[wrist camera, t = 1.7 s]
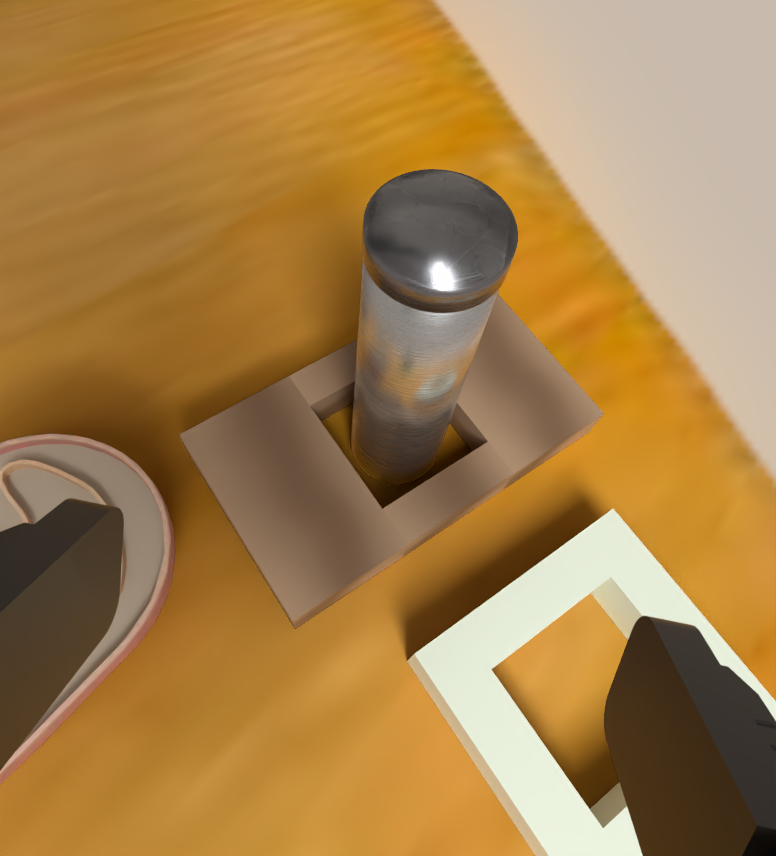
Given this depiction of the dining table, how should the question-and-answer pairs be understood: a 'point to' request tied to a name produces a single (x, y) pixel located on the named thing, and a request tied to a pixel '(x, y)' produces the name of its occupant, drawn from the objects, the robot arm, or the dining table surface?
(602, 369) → the dining table surface
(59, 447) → the anatomical model
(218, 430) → the brown rectangular frame
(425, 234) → the silver metal cylinder
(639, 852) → the white square frame
